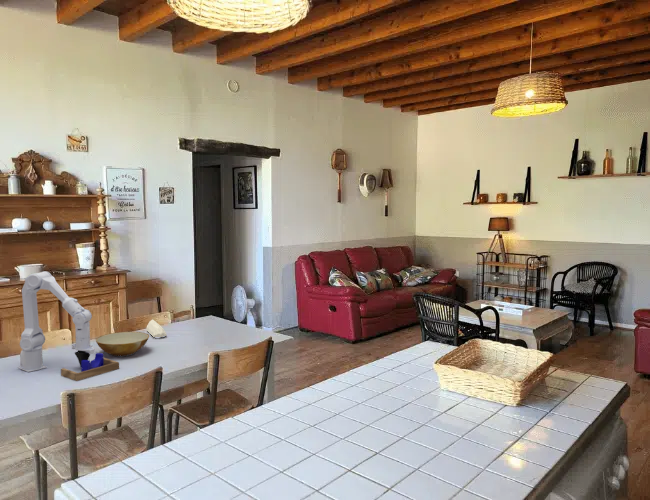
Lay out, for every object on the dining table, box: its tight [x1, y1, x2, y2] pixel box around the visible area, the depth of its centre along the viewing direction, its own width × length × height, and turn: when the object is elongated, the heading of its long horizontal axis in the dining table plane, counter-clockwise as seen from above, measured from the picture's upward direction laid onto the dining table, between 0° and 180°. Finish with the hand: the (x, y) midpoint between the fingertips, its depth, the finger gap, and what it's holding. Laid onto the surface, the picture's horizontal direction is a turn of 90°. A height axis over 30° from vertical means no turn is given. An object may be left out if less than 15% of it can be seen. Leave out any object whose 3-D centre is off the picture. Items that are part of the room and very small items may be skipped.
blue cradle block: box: [80, 352, 104, 372], centre depth 219 cm, size 12×4×6 cm, turn 173°
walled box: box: [60, 357, 120, 382], centre depth 216 cm, size 12×20×3 cm, turn 147°
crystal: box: [145, 318, 167, 338], centre depth 283 cm, size 7×7×24 cm
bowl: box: [95, 331, 150, 357], centre depth 245 cm, size 25×25×8 cm
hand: (83, 366), depth 219 cm, fingers closed
